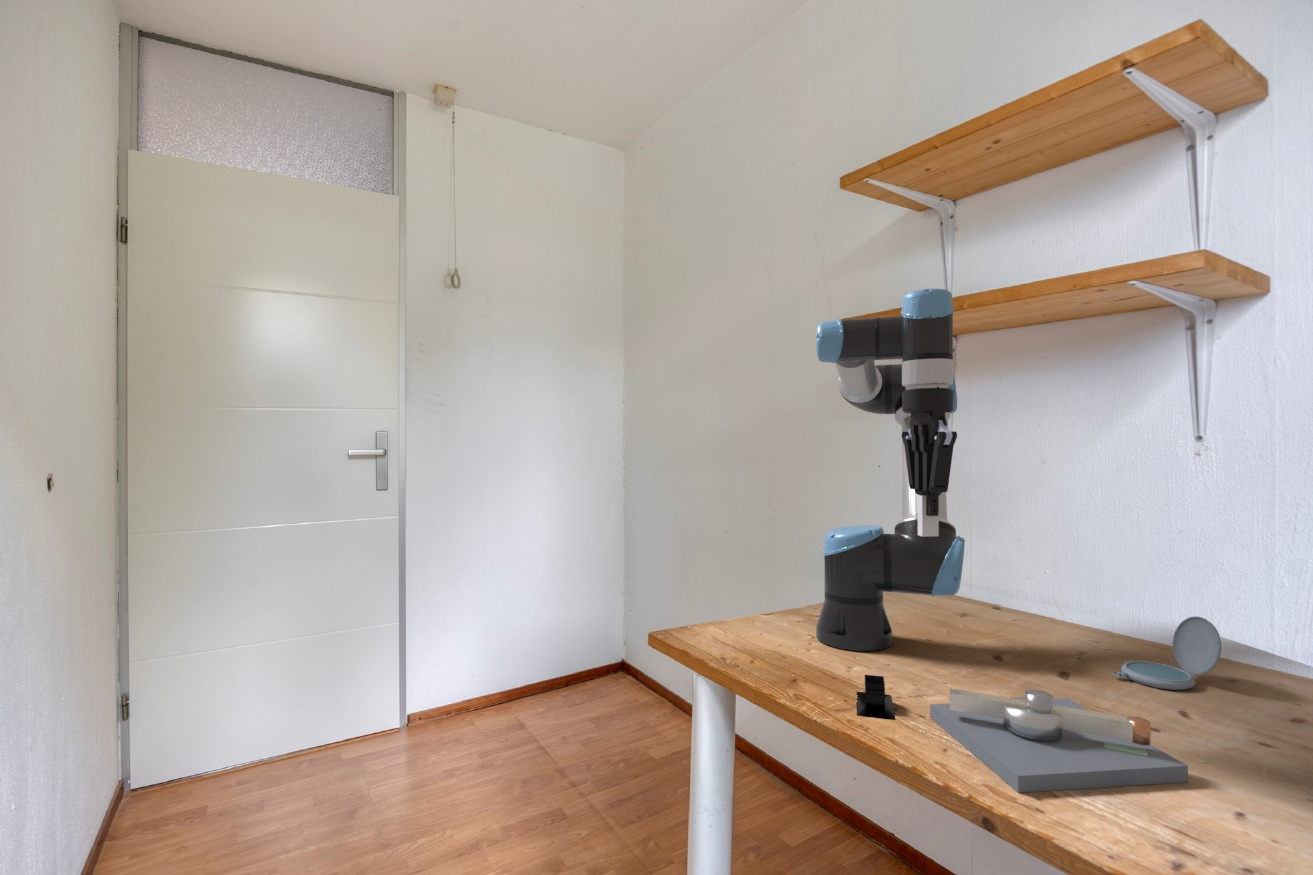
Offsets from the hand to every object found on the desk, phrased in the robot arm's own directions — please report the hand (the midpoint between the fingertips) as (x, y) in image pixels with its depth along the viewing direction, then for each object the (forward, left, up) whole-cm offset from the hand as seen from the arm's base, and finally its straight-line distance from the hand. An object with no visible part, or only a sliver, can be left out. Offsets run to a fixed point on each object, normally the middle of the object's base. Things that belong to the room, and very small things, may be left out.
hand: (928, 535), depth 101 cm
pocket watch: (-4, +43, -27) cm, 51 cm away
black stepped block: (+1, -9, -27) cm, 29 cm away
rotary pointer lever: (+16, +8, -24) cm, 30 cm away
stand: (+16, +8, -26) cm, 32 cm away
